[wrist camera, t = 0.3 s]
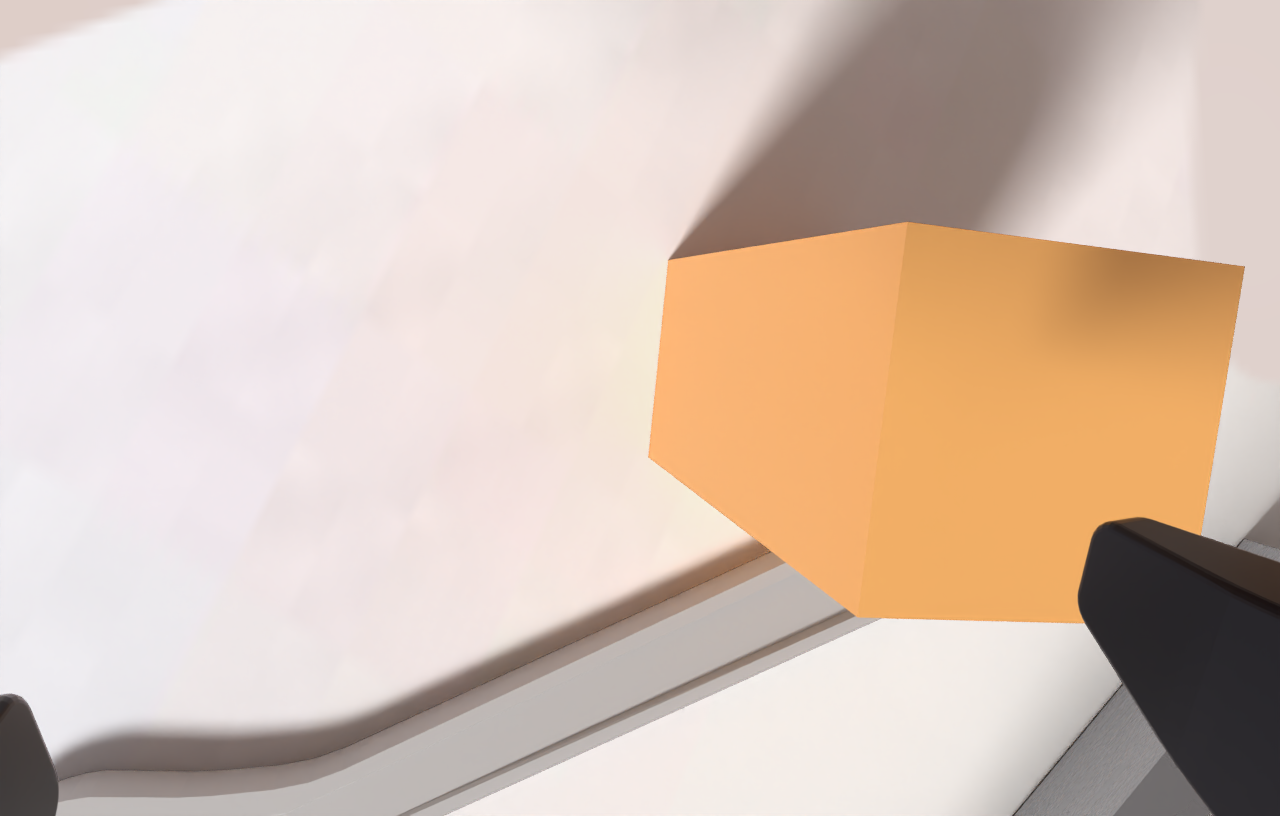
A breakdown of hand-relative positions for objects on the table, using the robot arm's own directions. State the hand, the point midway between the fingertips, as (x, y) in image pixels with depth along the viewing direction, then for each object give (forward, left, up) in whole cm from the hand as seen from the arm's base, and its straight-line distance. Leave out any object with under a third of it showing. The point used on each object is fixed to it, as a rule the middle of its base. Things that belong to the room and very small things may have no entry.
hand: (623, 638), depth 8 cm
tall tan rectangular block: (+4, -5, -15) cm, 16 cm away
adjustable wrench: (-7, -4, -16) cm, 18 cm away
